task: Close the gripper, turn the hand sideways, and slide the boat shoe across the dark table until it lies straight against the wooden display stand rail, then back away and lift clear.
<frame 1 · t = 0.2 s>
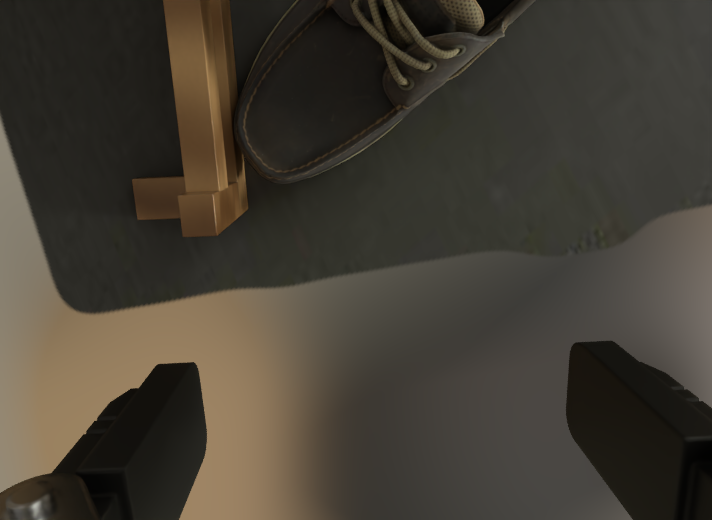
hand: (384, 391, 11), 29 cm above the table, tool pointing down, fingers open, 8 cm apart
boat shoe: (402, 15, 36), on the table
wooden display stand: (217, 21, 36), on the table
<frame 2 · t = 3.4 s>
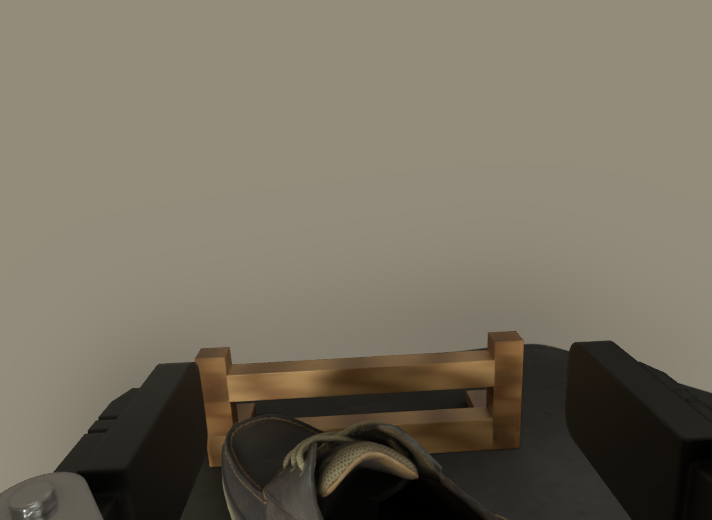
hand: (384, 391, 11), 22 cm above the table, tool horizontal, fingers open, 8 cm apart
wooden display stand: (364, 450, 45), on the table
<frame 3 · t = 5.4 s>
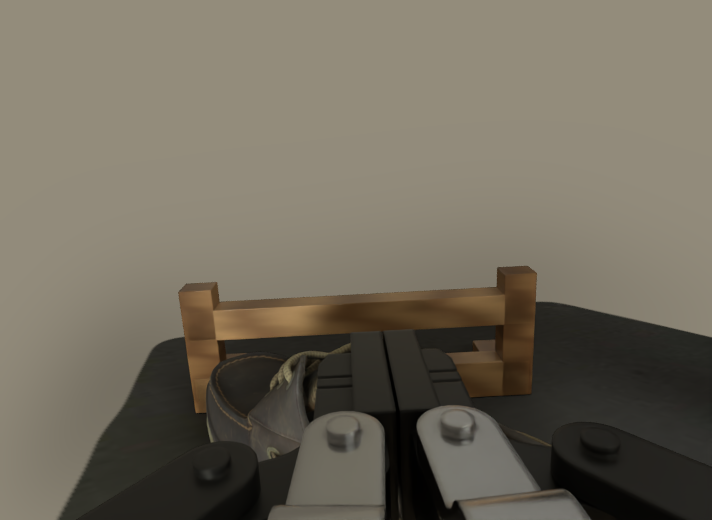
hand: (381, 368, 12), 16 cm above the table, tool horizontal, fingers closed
wooden display stand: (363, 397, 41), on the table
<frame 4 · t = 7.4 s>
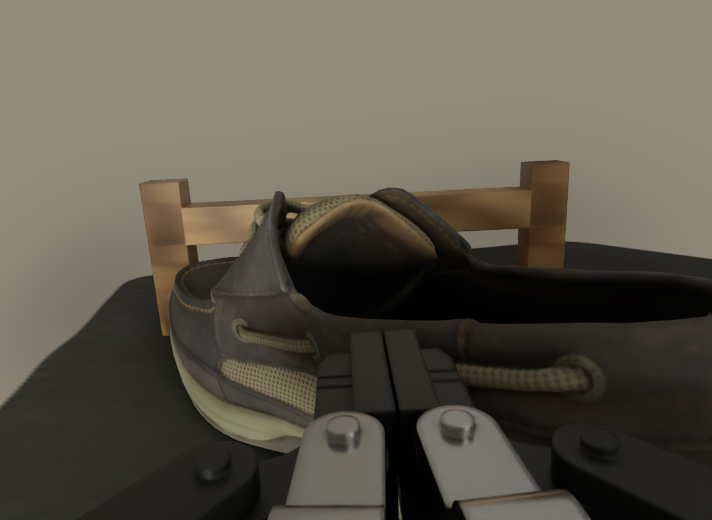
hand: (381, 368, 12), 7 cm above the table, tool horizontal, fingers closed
boat shoe: (373, 433, 23), on the table, touching gripper
wooden display stand: (362, 320, 35), on the table
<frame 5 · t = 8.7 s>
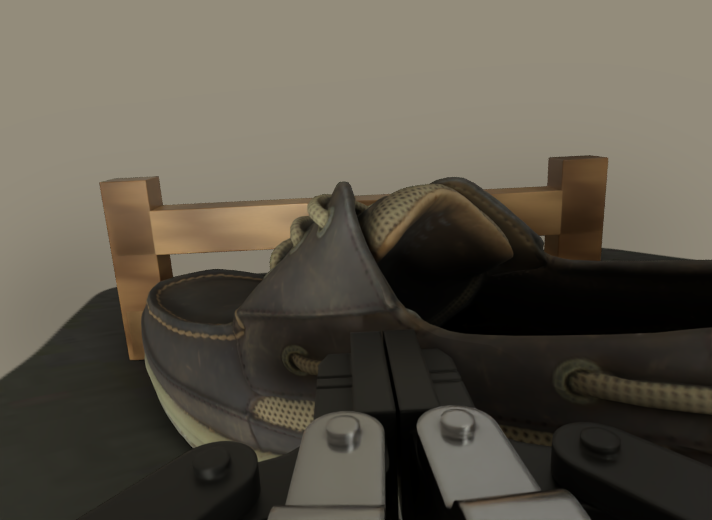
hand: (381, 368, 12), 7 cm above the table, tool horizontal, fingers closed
boat shoe: (430, 465, 19), on the table, touching gripper, wooden display stand
wooden display stand: (362, 341, 30), on the table
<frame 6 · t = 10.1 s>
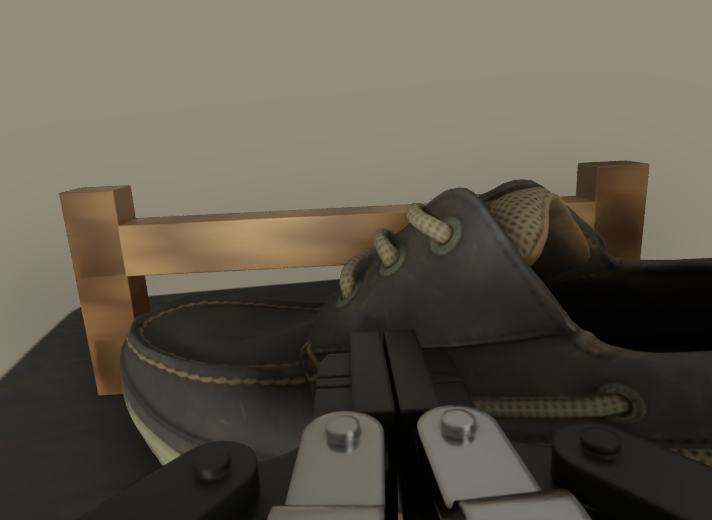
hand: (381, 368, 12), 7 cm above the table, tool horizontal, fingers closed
boat shoe: (500, 490, 18), on the table, touching gripper, wooden display stand
wooden display stand: (364, 371, 27), on the table
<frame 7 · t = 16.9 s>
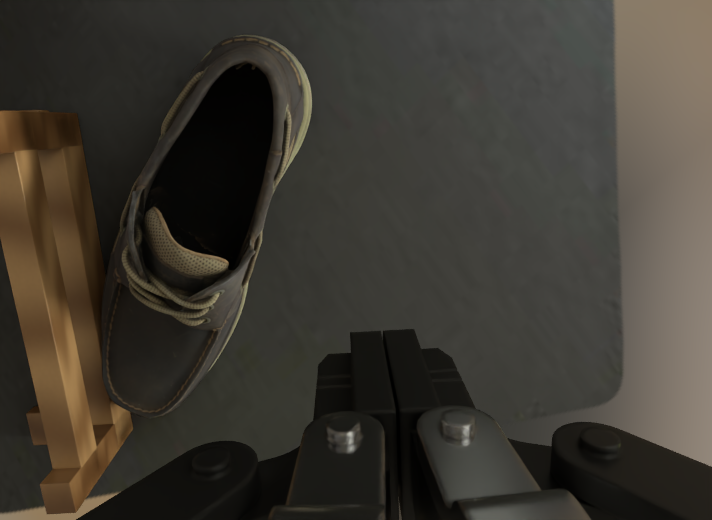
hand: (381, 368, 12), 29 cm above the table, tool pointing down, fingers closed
boat shoe: (201, 225, 41), on the table
wooden display stand: (95, 284, 41), on the table
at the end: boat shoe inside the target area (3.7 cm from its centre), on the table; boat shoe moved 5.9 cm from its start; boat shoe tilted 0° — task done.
